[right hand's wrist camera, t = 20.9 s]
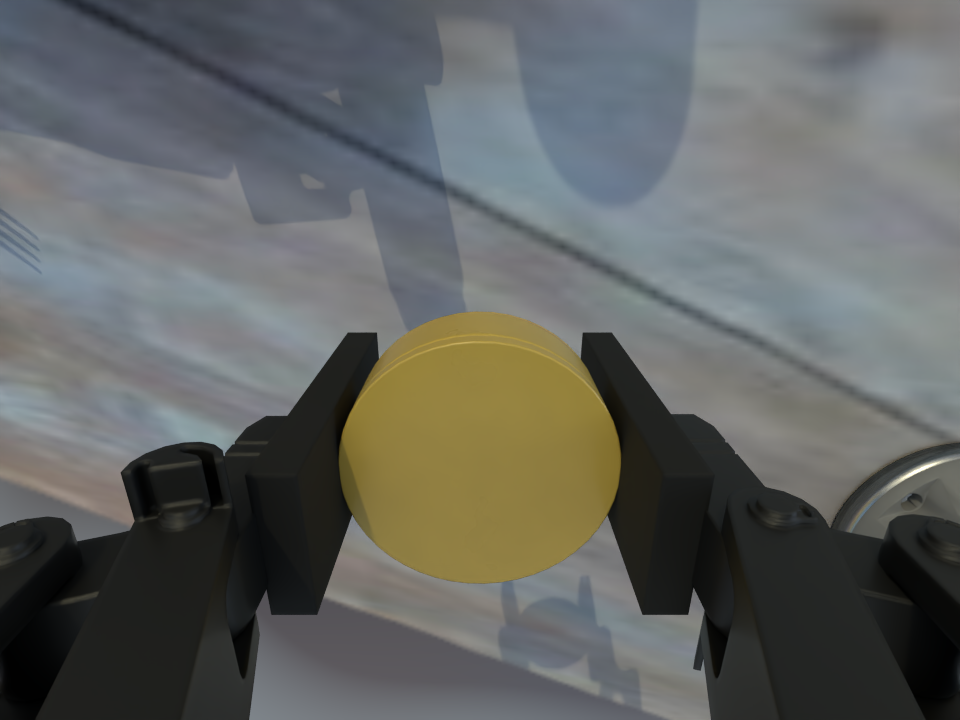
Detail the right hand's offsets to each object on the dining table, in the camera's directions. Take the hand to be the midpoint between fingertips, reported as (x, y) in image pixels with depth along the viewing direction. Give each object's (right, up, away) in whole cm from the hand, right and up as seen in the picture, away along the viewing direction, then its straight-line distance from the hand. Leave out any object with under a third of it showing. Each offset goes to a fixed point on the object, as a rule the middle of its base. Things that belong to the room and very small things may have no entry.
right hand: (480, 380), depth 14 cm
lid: (0, -2, -4) cm, 4 cm away
